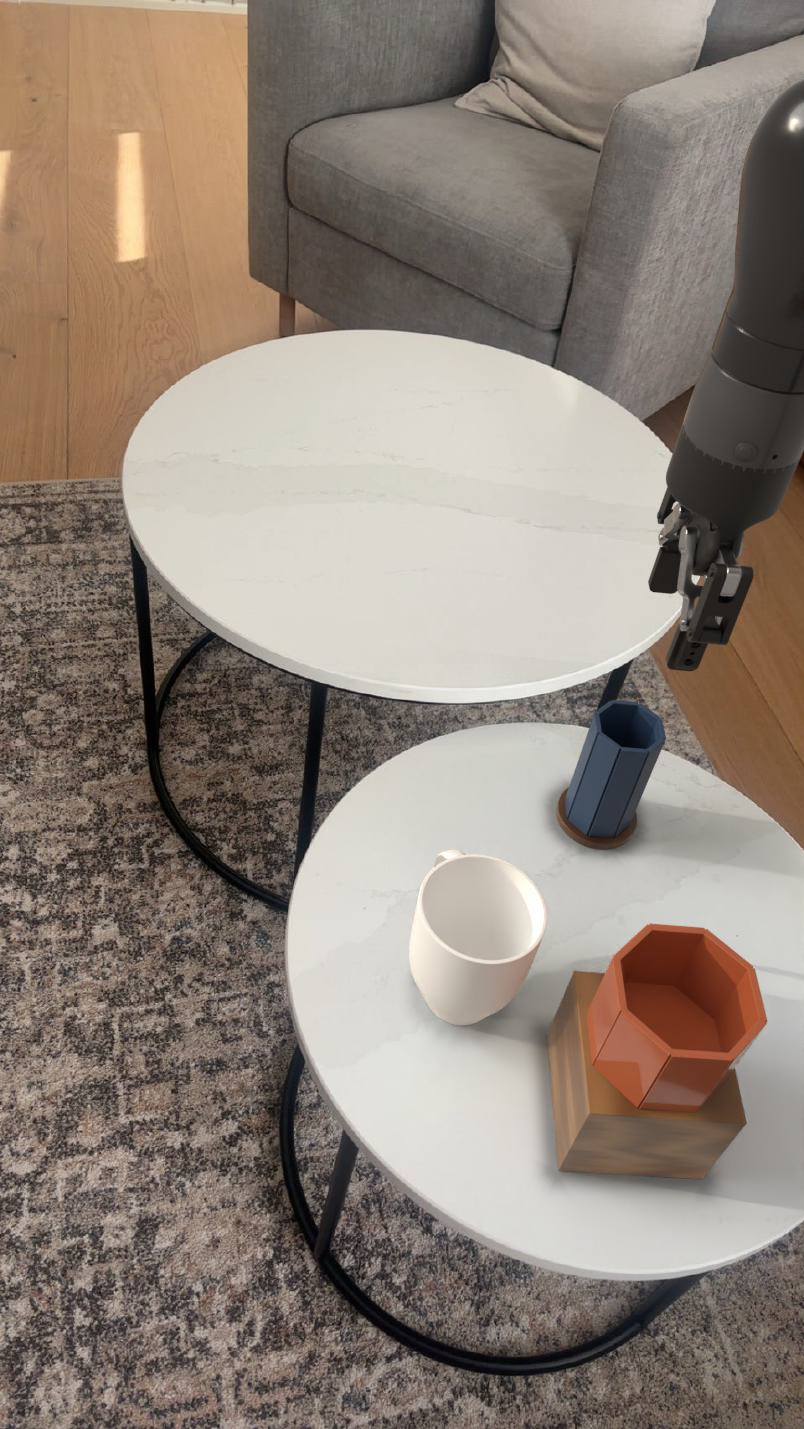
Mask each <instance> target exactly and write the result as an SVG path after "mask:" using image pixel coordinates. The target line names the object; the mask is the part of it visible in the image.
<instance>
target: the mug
mask: <svg viewBox="0 0 804 1429" xmlns="http://www.w3.org/2000/svg"><path fill="white" fill-rule="evenodd" d="M547 910H548V908H547V905H546V902H545V899H544V896H543V894H542V892H541V890H540V889H539V887H538V886H537V884H535V882H534V881H533V879H532V878H530V877H529V876H528V875H527V874H526V873H525V872H524V871H523V870H521V869H520V868H519V867H517V866H515V865H514V864H512V863H510V862H508V861H506V860H504V859H501V858H499V857H495V856H490V855H486V854H478V853H477V854H475V853H474V854H473V853H470V854H465V852H463V850H460V849H448V850H444V851H441V852H440V853H438V855H437V856H436V857H435V860H434V865H433V868H432V869H431V870H430V871H428V873H427V875H426V876H425V877H424V879H423V881H422V883H421V885H420V887H419V892H418V896H417V902H416V905H415V911H414V917H413V921H412V926H411V932H410V937H409V947H408V948H409V949H408V955H409V956H408V958H409V960H408V961H409V966H410V971H411V974H412V978H413V980H414V982H415V984H416V986H417V988H418V990H419V992H420V994H421V995H422V997H423V998H424V1000H425V1002H426V1004H427V1005H428V1007H429V1009H430V1010H431V1011H432V1012H433V1014H434V1015H435V1016H436V1017H438V1018H439V1019H440V1020H442V1021H444V1022H446V1023H448V1024H451V1025H455V1026H470V1025H474V1024H477V1023H478V1022H480V1021H482V1020H483V1019H485V1018H488V1017H489V1016H492V1015H493V1014H495V1013H497V1012H498V1011H500V1010H502V1009H503V1008H505V1007H506V1006H507V1005H509V1003H511V1002H512V1001H513V999H514V998H515V997H516V996H517V994H518V993H519V992H520V990H521V988H522V987H523V985H524V983H525V982H526V979H527V977H528V975H529V973H530V970H531V968H532V966H533V963H534V961H535V959H536V955H537V953H538V951H539V948H540V945H541V943H542V941H543V938H544V936H545V933H546V930H547V926H548V911H547Z"/></svg>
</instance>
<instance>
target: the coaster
mask: <svg viewBox="0 0 804 1429" xmlns="http://www.w3.org/2000/svg"><path fill="white" fill-rule="evenodd" d="M568 789H569V786H568V787H567V788H566V789H565V790H564V791H563V792H562V793H561V794H560V796H559V798H558V801H557V804H556V809H555V814H556V819H557V822H558V824H559V826H560V828H561V829H562V831H563V832H564V833H565V835H567V836H568V838H570V839H571V840H573V841H574V842H576V843H578V844H579V845H581V846H584V847H587V848H590V849H593V850H599V851H601V850H603V851H605V850H607V851H608V850H613V849H617V848H621V847H622V846H623V845H625V844H627V843H628V842H629V841H630V840H631V839H632V837H633V835H634V833H635V830H636V828H637V825H638V816H637V815H638V814H637V810H636V811H635V813H634V816H633V818H632V821H631V823H630V825H629V826H628V827H627V828H626V829H625V830H624V831H622V832H621V833H620V834H619V835H618V836H616V837H613V838H603V837H591V836H589V834H587V835H585V834H584V833H583V832H582V831H580V830H579V829H578V828H577V827H575V826H574V825H573V824H572V823H570V822H569V821H568V819H567V817H566V808H565V797H566V794H567V791H568Z"/></svg>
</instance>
